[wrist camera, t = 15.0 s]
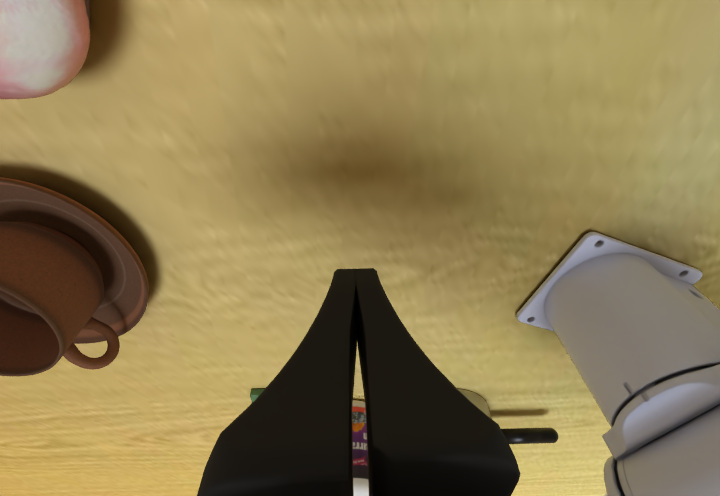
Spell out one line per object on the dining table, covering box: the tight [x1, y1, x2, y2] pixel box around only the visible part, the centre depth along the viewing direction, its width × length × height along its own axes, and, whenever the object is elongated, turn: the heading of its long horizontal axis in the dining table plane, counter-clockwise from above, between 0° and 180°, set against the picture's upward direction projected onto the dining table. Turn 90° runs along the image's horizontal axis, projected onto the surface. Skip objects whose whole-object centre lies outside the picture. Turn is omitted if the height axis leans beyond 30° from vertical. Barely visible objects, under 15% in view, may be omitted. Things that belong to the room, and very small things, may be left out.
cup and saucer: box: [0, 177, 149, 376], centre depth 21 cm, size 12×12×6 cm
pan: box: [458, 389, 558, 444], centre depth 34 cm, size 14×8×3 cm, turn 90°
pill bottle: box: [352, 400, 369, 496], centre depth 30 cm, size 5×5×10 cm
